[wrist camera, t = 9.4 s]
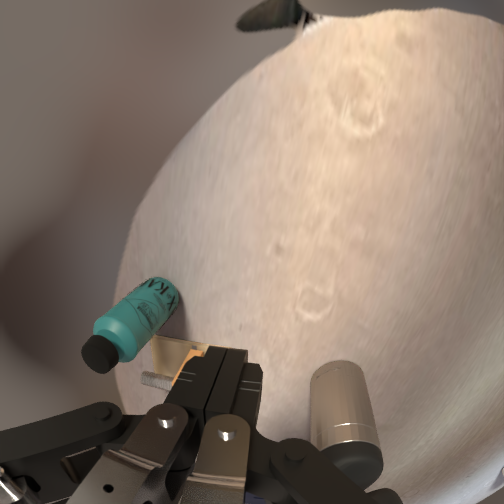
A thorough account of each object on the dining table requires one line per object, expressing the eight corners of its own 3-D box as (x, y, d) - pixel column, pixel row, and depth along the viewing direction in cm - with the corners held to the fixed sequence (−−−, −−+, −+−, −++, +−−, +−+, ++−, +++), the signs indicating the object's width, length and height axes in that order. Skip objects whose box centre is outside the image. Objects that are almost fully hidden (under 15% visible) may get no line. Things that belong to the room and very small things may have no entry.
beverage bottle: (168, 317, 48) (105, 394, 29) (138, 288, 47) (63, 352, 28) (192, 293, 46) (130, 370, 27) (160, 262, 45) (82, 323, 26)
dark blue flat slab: (339, 454, 51) (340, 468, 47) (318, 499, 62) (318, 510, 59) (222, 447, 54) (219, 461, 51) (232, 494, 66) (230, 504, 62)
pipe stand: (158, 378, 52) (138, 408, 44) (152, 334, 49) (128, 363, 41) (231, 392, 50) (219, 427, 42) (231, 347, 48) (218, 382, 39)
